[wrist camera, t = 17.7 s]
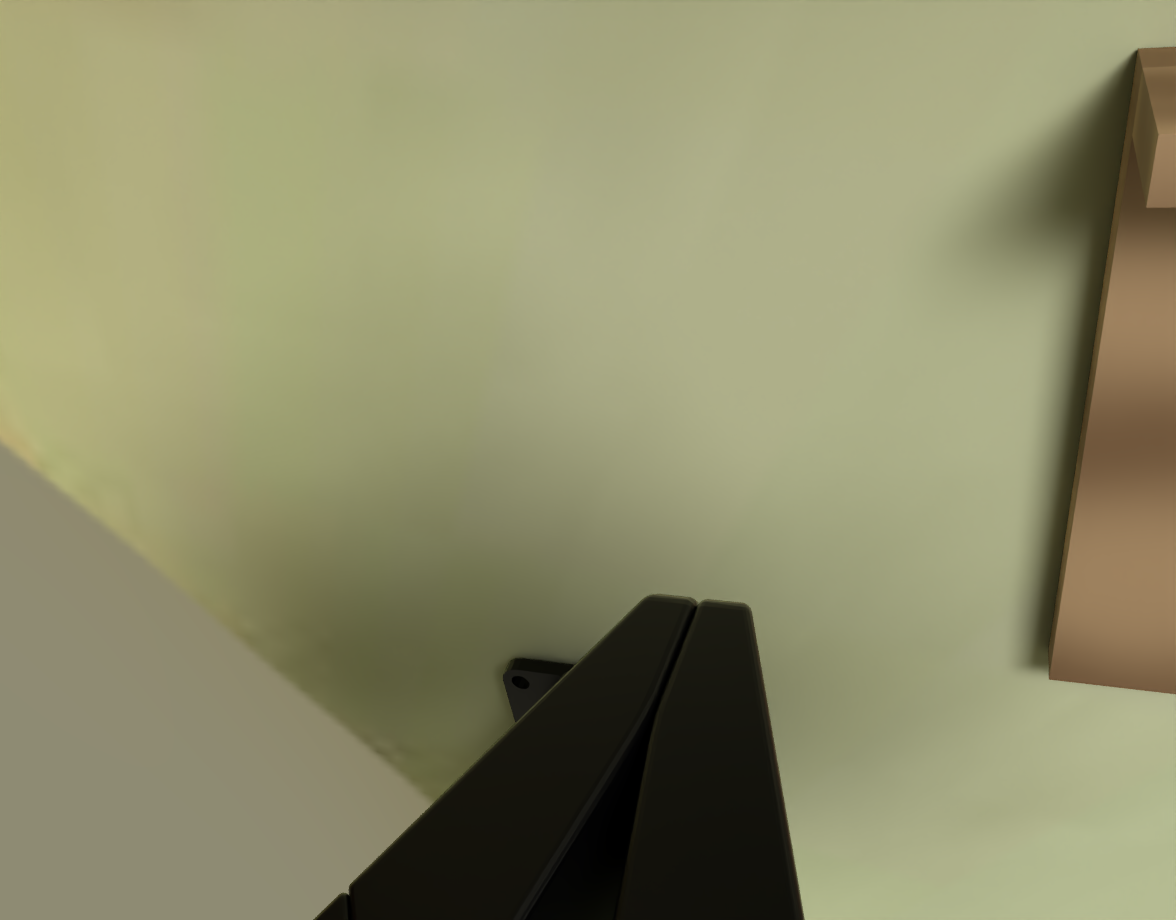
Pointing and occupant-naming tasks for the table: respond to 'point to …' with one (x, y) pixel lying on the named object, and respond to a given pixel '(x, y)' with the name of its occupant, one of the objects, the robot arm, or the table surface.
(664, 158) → the table surface
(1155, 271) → the shelf
